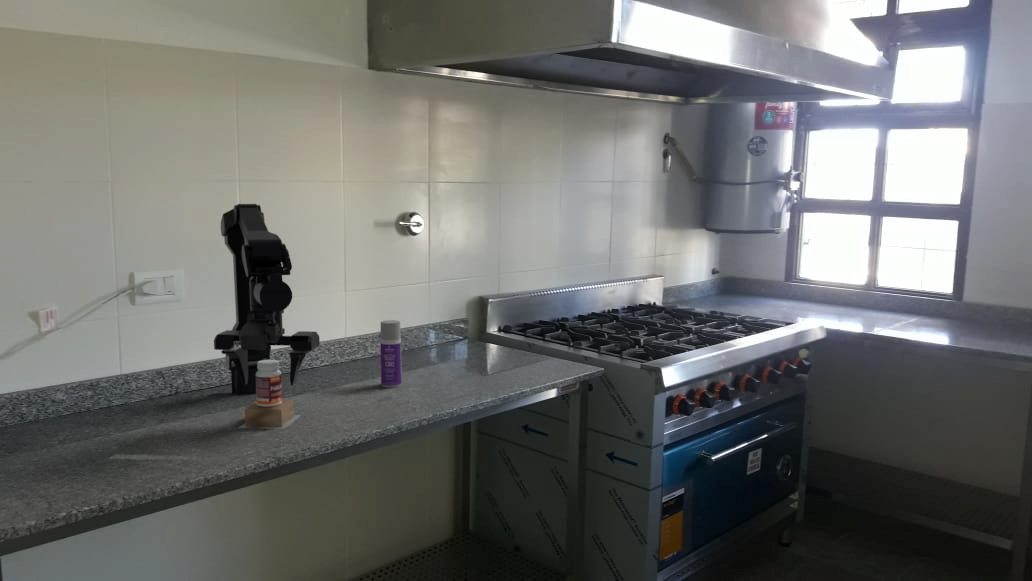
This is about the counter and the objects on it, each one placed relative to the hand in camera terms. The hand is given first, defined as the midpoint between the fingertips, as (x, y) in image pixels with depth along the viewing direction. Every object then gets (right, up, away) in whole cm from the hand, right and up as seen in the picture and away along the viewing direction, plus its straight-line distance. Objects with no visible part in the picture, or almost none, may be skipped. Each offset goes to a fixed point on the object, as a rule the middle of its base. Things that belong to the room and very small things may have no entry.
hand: (269, 384), depth 153 cm
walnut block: (0, -7, +1) cm, 7 cm away
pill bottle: (0, -4, +1) cm, 4 cm away
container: (+19, -4, +32) cm, 37 cm away
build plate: (+3, -8, +2) cm, 9 cm away
